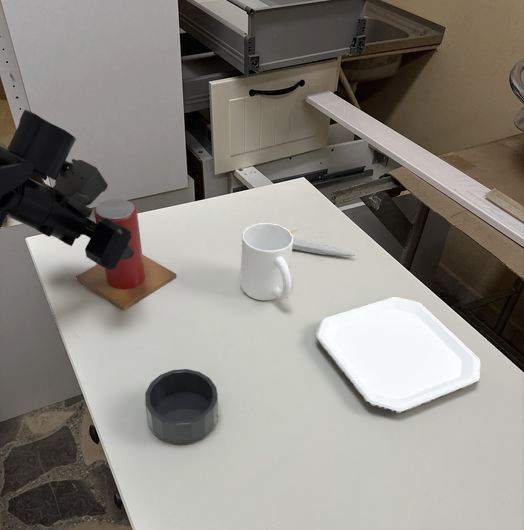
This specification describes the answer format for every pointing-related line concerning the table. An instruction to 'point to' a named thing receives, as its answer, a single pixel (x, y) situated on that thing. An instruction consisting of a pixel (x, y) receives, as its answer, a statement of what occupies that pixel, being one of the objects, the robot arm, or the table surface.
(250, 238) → the mug
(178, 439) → the bowl
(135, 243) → the can
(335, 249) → the tool
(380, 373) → the plate
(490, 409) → the table surface
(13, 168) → the robot arm
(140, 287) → the coaster
